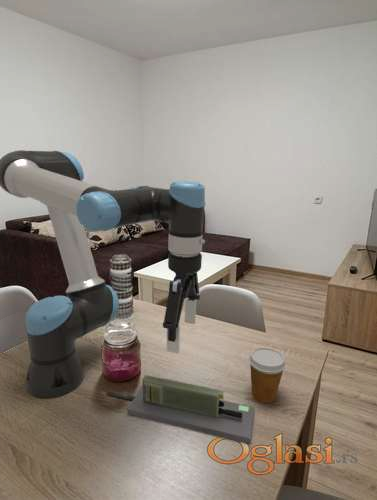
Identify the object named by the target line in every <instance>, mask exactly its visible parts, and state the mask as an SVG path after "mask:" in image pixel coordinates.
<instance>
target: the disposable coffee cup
mask: <svg viewBox="0 0 377 500" xmlns="http://www.w3.org/2000/svg"><path fill="white" fill-rule="evenodd" d="M248 362H249V365H250V380H251V381H250V384H251V395H252V397H253V398H254V399H255V400H256V401H257V402H258V403H262V404H271V403H273V402H274V401H275V400H276V398H277V395H278V392H279V391H278V390H279V387H280V383H281V379H282V375H283V372H284V370H285V369H286V365H287V362H286V360H285V356H284V354H282V352H280V351H279V350H278V349H274V348H271V347H265V346H264V347H262V346H261V347H257V348H254V349H253V350H252V351H251V353H250V354H249V356H248Z"/></svg>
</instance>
